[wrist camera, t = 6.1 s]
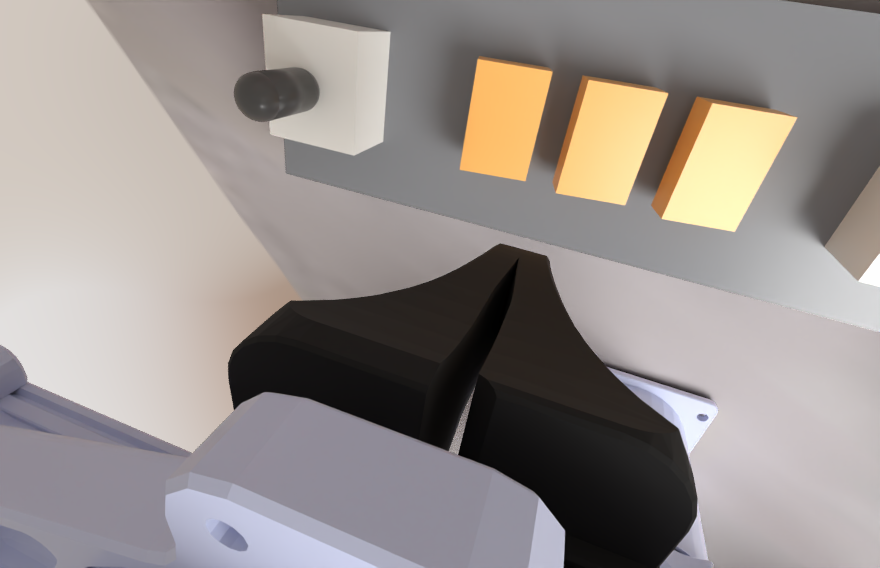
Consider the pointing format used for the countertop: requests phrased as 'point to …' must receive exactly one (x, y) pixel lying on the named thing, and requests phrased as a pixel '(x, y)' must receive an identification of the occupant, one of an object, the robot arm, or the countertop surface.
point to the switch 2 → (720, 162)
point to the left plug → (319, 83)
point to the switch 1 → (504, 117)
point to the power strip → (684, 78)
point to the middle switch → (607, 139)
